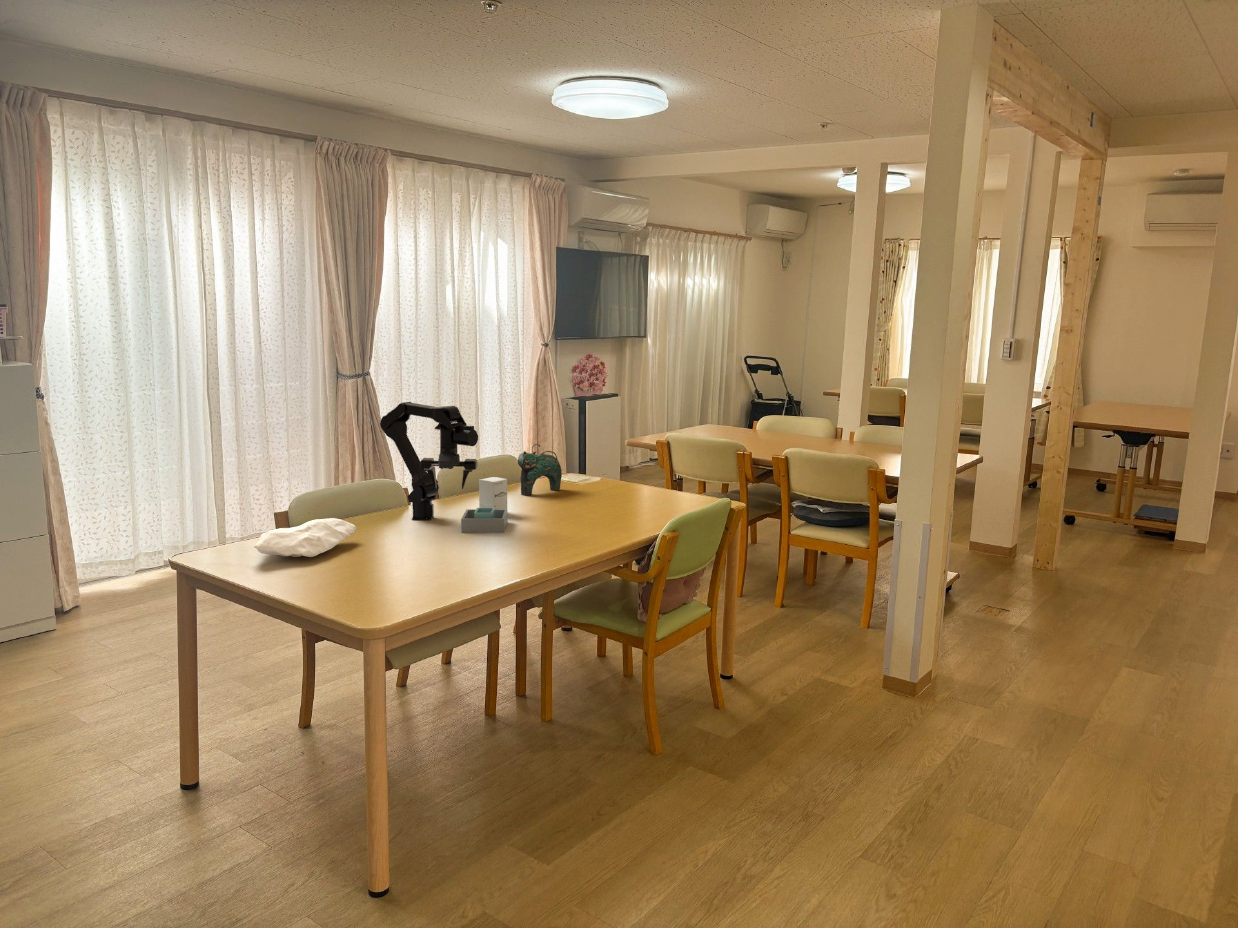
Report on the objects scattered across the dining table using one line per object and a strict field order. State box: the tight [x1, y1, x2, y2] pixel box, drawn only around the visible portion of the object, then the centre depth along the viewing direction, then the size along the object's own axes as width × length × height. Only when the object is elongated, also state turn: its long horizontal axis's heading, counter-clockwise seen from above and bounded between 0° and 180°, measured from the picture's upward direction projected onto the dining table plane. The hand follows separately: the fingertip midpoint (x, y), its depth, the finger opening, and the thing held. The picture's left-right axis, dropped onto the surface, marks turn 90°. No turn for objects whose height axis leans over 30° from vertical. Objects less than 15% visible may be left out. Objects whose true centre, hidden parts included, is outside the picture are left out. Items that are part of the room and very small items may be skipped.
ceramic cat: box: [517, 443, 563, 497], centre depth 350 cm, size 20×6×20 cm, turn 132°
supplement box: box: [478, 476, 508, 510], centre depth 315 cm, size 7×7×13 cm
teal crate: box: [474, 507, 495, 519], centre depth 296 cm, size 6×8×5 cm
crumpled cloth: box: [253, 517, 356, 558], centre depth 264 cm, size 24×35×9 cm
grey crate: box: [460, 508, 509, 533], centre depth 296 cm, size 14×14×4 cm
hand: (449, 488), depth 300 cm, fingers open, 9 cm apart
